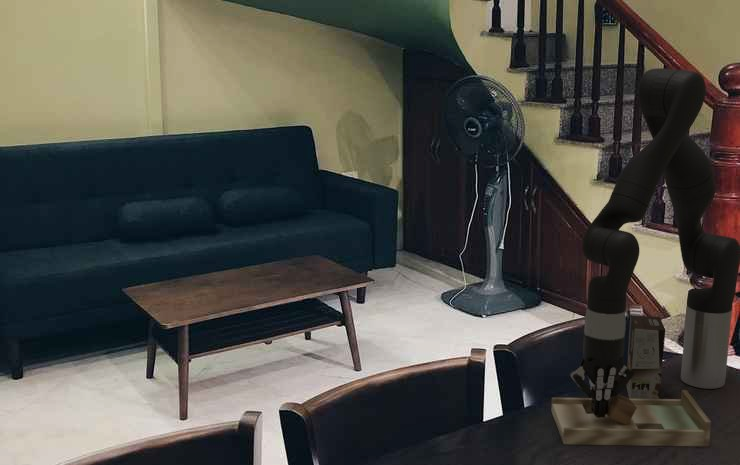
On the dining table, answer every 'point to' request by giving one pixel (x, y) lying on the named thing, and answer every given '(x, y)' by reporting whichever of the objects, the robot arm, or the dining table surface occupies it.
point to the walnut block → (620, 409)
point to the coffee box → (645, 357)
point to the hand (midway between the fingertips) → (598, 415)
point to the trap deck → (634, 423)
